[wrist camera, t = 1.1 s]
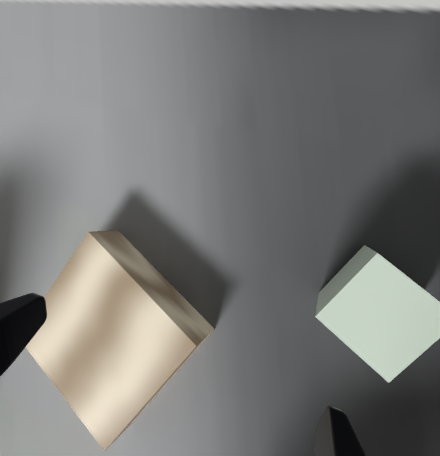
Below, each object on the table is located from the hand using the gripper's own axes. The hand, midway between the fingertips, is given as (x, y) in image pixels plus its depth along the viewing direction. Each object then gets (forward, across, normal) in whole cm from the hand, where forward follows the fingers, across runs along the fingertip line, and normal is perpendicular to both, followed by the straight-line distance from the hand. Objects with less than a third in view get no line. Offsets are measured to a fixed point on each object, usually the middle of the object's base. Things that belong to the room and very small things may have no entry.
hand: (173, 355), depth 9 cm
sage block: (+13, -9, +4) cm, 16 cm away
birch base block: (+12, +8, +14) cm, 20 cm away
